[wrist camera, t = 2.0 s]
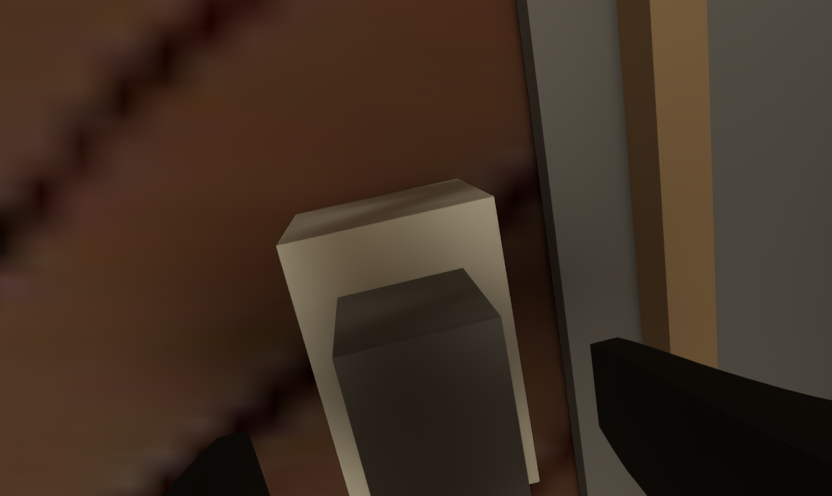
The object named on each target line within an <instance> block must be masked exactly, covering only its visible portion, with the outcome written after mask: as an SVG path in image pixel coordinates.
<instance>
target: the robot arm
mask: <svg viewBox="0 0 832 496" xmlns="http://www.w3.org/2000/svg"><path fill="white" fill-rule="evenodd" d="M590 350H591V359H592V368H593V377H594V386H595V395H596V404H597V413H598V423H599V427H600V429H601V431H602V432H603V434H604V436H605V437H606V439H607V441H608V442H609V444H610V445H611V447H612V449H613V450H614V452H615V453H616V455H617V456H618V458H619V460H620V461H621V463H622V464H623V466H624V467H625V469H626V470H627V471H628V473H629V474H630V475H631V476H632V478H633V479H634V480H635V481H636V483H637V484H638V485H639V486H640V488H641V489H642V490H643V491H644V493H645V494H646V495H647V496H832V400H829V399H824V398H820V397H815V396H811V395H807V394H803V393H799V392H795V391H791V390H787V389H784V388H780V387H777V386H773V385H770V384H766V383H762V382H759V381H755V380H752V379H748V378H745V377H742V376H738V375H735V374H732V373H729V372H725V371H722V370H719V369H716V368H713V367H710V366H707V365H704V364H701V363H698V362H695V361H692V360H689V359H686V358H683V357H680V356H677V355H674V354H671V353H668V352H665V351H662V350H659V349H656V348H653V347H650V346H647V345H644V344H641V343H637V342H634V341H631V340H627V339H623V338H619V337H616V338H612V339H608V340H604V341H600V342H596V343H592V344H590ZM161 496H270V494H269V491H268V488H267V485H266V482H265V479H264V476H263V474H262V471H261V468H260V465H259V462H258V459H257V456H256V453H255V451H254V448H253V445H252V442H251V439H250V436H249V433H248V431H244V432H240V433H236V434H232V435H228V436H224V437H220V438H217V439H216V440H215V441H213V442H212V443H211V444H210V445H209V446H208V447H207V448H206V449H205V450H204V451H203V452H202V453H201V454H200V455H199V456H198V457H197V458H196V459H195V460H194V461H193V462H192V464H191V465H190V466H189V467H188V468H187V469H186V470H185V471H184V472H183V473H182V474H181V475H180V476H179V477H178V478H177V480H176V481H175V482H174V483H173V484H172V485H171V486H170V487H169V488H168V489H167V490H166V491H165V492H164V493H163V494H162V495H161Z"/></svg>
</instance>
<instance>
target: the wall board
mask: <svg viewBox="0 0 832 496" xmlns="http://www.w3.org/2000/svg"><path fill="white" fill-rule="evenodd" d="M516 4H517V12H518V19H519V27H520V35H521V43H522V50H523V58H524V66H525V74H526V81H527V89H528V97H529V105H530V112H531V120H532V128H533V136H534V143H535V151H536V159H537V167H538V174H539V182H540V190H541V198H542V205H543V213H544V221H545V229H546V236H547V244H548V252H549V260H550V268H551V275H552V283H553V291H554V299H555V306H556V314H557V322H558V330H559V337H560V345H561V353H562V361H563V368H564V376H565V384H566V392H567V399H568V407H569V415H570V423H571V430H572V438H573V446H574V454H575V461H576V469H577V477H578V485H579V492H580V496H647V495H646V494H645V493H644V491H643V490H642V489H641V488H640V486H639V485H638V484H637V483H636V481H635V480H634V479H633V478H632V476H631V475H630V474H629V473H628V471H627V470H626V469H625V467H624V466H623V464H622V463H621V461H620V460H619V458H618V456H617V455H616V453H615V452H614V450H613V449H612V447H611V445H610V444H609V442H608V441H607V439H606V437H605V436H604V434H603V432H602V431H601V429H600V427H599V423H598V413H597V404H596V395H595V386H594V377H593V368H592V359H591V350H590V344H592V343H596V342H600V341H604V340H608V339H612V338H616V337H619V338H623V339H627V340H631V341H634V342H637V343H641V344H644V345H647V346H650V347H653V348H656V349H659V350H662V351H665V352H668V353H671V354H674V355H677V356H680V357H683V358H686V359H689V360H692V361H695V362H698V363H701V364H704V365H707V366H710V367H713V368H716V369H719V370H722V371H725V372H729V373H732V374H735V375H738V376H742V377H745V378H748V379H752V380H755V381H759V382H762V383H766V384H770V385H773V386H777V387H780V388H784V389H787V390H791V391H795V392H799V393H803V394H807V395H811V396H815V397H820V398H824V399H829V400H832V0H516Z"/></svg>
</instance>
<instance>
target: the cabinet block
mask: <svg viewBox="0 0 832 496" xmlns="http://www.w3.org/2000/svg"><path fill="white" fill-rule="evenodd" d="M276 248H277V251H278V254H279V258H280V261H281V265H282V268H283V271H284V275H285V278H286V282H287V285H288V288H289V292H290V295H291V299H292V302H293V305H294V309H295V312H296V315H297V319H298V322H299V326H300V329H301V332H302V336H303V339H304V343H305V346H306V349H307V353H308V356H309V360H310V363H311V366H312V370H313V373H314V377H315V380H316V383H317V387H318V390H319V394H320V397H321V400H322V404H323V407H324V411H325V414H326V417H327V421H328V424H329V428H330V431H331V434H332V438H333V441H334V445H335V448H336V451H337V455H338V458H339V462H340V465H341V468H342V472H343V475H344V478H345V482H346V485H347V489H348V492H349V495H350V496H531V491H530V485H529V484H532V483H536V482H539V475H538V468H537V462H536V456H535V450H534V443H533V437H532V431H531V425H530V419H529V412H528V406H527V400H526V394H525V387H524V381H523V375H522V369H521V362H520V356H519V350H518V344H517V337H516V331H515V325H514V319H513V312H512V306H511V300H510V294H509V288H508V281H507V275H506V269H505V263H504V256H503V250H502V244H501V238H500V231H499V225H498V219H497V213H496V206H495V200H494V196H492V195H490V194H488V193H486V192H484V191H482V190H480V189H478V188H476V187H474V186H472V185H470V184H468V183H466V182H464V181H462V180H460V179H458V178H457V179H452V180H448V181H444V182H439V183H435V184H430V185H426V186H421V187H417V188H412V189H408V190H403V191H399V192H394V193H390V194H385V195H381V196H376V197H372V198H367V199H363V200H358V201H354V202H349V203H345V204H340V205H336V206H331V207H327V208H323V209H318V210H314V211H309V212H305V213H300V214H296V215H295V217H294V218H293V220H292V221H291V223H290V225H289V226H288V228H287V229H286V231H285V232H284V234H283V236H282V237H281V239H280V240H279V242H278V244H277V245H276Z"/></svg>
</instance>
